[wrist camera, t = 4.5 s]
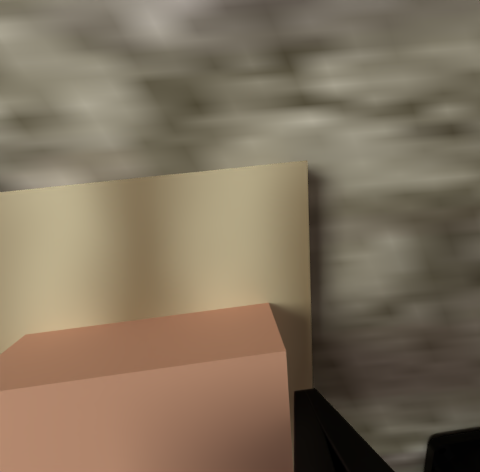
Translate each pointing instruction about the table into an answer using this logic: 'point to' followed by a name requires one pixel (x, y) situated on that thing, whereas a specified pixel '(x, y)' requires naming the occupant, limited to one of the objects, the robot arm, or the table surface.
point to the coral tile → (149, 396)
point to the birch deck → (161, 254)
